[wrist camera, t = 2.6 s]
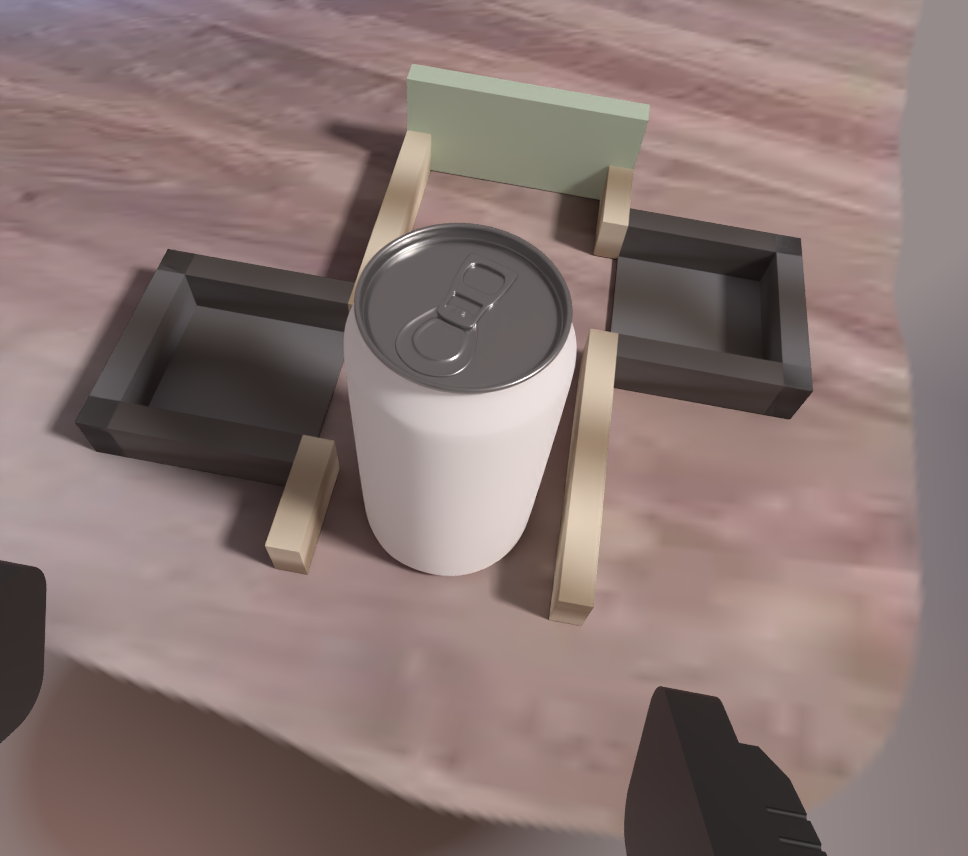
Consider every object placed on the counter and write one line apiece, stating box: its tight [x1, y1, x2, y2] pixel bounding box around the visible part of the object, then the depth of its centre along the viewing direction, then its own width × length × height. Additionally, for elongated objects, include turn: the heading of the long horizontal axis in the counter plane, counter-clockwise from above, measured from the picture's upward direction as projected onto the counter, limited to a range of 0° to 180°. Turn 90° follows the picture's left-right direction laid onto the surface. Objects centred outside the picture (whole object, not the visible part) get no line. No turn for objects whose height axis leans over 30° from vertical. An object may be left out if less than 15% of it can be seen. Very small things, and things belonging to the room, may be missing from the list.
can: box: [344, 223, 576, 576], centre depth 24 cm, size 6×6×12 cm
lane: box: [75, 130, 813, 626], centre depth 33 cm, size 24×28×2 cm
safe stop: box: [407, 64, 650, 200], centre depth 37 cm, size 1×11×5 cm, turn 81°
